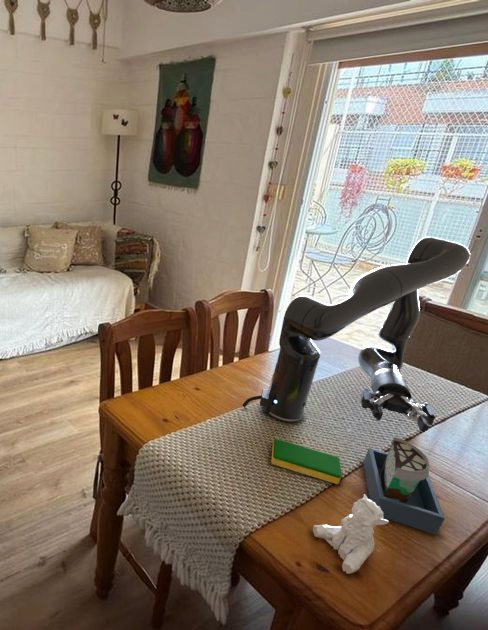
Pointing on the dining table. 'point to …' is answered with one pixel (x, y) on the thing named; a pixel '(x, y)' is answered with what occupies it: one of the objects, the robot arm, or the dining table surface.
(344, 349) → the dining table surface
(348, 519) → the seated beast figurine
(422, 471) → the food container
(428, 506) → the blue open tray
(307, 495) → the dining table surface
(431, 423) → the robot arm
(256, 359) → the dining table surface
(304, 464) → the dish sponge
